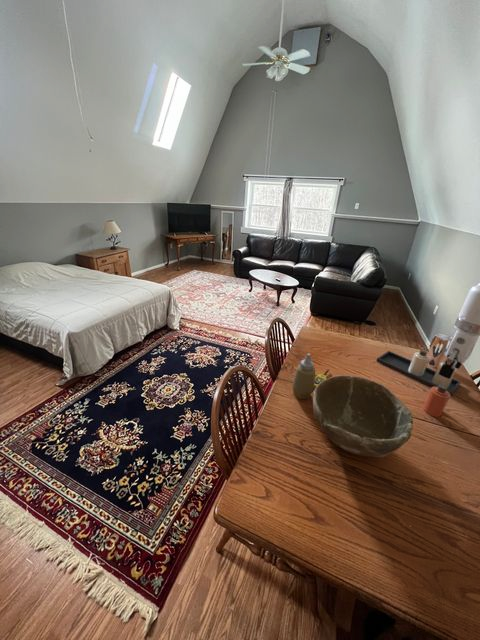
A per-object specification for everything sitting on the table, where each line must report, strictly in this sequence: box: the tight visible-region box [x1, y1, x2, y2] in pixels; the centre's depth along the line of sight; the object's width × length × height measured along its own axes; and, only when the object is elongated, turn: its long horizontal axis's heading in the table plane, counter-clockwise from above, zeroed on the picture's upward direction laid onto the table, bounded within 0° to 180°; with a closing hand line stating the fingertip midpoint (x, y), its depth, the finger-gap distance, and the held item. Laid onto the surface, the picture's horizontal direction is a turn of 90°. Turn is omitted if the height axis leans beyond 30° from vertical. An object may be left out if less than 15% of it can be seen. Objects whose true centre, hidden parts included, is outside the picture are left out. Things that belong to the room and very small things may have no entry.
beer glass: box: [427, 332, 453, 369], centre depth 121 cm, size 7×7×15 cm
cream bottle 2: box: [432, 361, 458, 388], centre depth 109 cm, size 6×6×11 cm
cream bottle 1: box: [408, 348, 430, 376], centre depth 115 cm, size 6×6×11 cm
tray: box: [376, 350, 462, 397], centre depth 117 cm, size 30×12×2 cm, turn 39°
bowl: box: [312, 374, 414, 458], centre depth 81 cm, size 28×27×15 cm
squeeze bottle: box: [291, 353, 316, 400], centre depth 98 cm, size 8×8×18 cm
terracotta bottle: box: [422, 384, 451, 418], centre depth 95 cm, size 6×6×11 cm
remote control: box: [314, 369, 330, 390], centre depth 111 cm, size 5×2×15 cm
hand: (448, 371), depth 90 cm, fingers open, 9 cm apart
